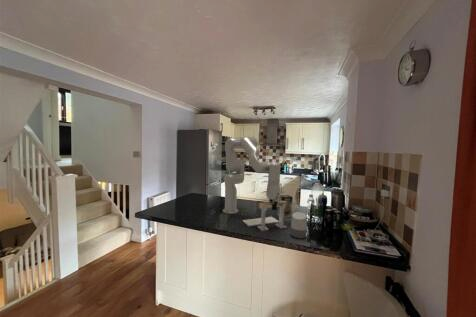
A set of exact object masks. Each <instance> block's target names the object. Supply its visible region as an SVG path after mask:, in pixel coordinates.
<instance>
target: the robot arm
mask: <svg viewBox="0 0 476 317" xmlns="http://www.w3.org/2000/svg"><path fill="white" fill-rule="evenodd" d="M258 144H259V143H258V140H257V138H255V137H251V136H244V137H240V138H239V137H230V138H227V140H225V143H224V150H225V168H226V171H227V172H228V173H226V174H225V175H224V177H223V180H224V195H225V196H224V208H223V209H222V212H223V213H225V214H228V215H229V214H230V215H231V214H237V213H239V209H238V208H237V205H238V204H237V195H238V189H237V186H236V185H239V184H242V183H244V180H245V164H244V161H243V160H242V159H240V158H237V152H236V150H237V149H238V150H243V151H245V153H246V154H247V155H248V161H249V165H250V167H251V168H252V169H253V170H254V171H255V172H256V173H257V174H265V173H268V176H267V177H268V179H267V185H266V194H265V195H266V198H268V202H273V204H272V208H271V210H272V211H278V207H277V203H278V202H279V199H280V195H281V187H280V186H281V184H280V183H281V164H280V163H279V162H271V161H260V160H259V159H258V158H257V156H258V154H259V152H260V150H259V148H258V147H257V146H258ZM235 149H236V150H235Z"/></svg>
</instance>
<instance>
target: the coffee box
mask: <svg viewBox="0 0 476 317" xmlns="http://www.w3.org/2000/svg"><path fill="white" fill-rule="evenodd" d="M293 198H294V197H293V196H291V195H289V194H287V195H286V194H284V195H281V194H280V199H279V201H286V202H287V206H285V209H284V218H283V219H289V218H292V214H293V200H294V199H293ZM279 213H280V207H277V216H278V217H279Z"/></svg>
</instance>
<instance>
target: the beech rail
mask: <svg viewBox="0 0 476 317" xmlns="http://www.w3.org/2000/svg"><path fill="white" fill-rule="evenodd" d="M272 204H273V202H269V201H267V202H266V201H264V202H258V207H257V208H258V209H260V210H261V209H264V206H267V209H272ZM282 204H286V206H287V202H286V201H279V202H278V203H277V208H278V207H282Z"/></svg>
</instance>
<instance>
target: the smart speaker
mask: <svg viewBox="0 0 476 317" xmlns="http://www.w3.org/2000/svg"><path fill="white" fill-rule="evenodd" d="M307 219H308V216H307V214H306V213H304V212H300V211H296V212H294V213H293V212H292V217H291V223H290V234H291V236H292V237H293V238H295V239H300V240H302V239H304V238H306V237H307V235H308V220H307Z"/></svg>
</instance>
